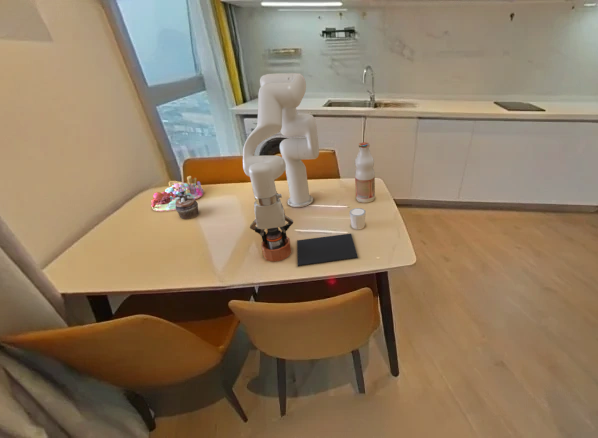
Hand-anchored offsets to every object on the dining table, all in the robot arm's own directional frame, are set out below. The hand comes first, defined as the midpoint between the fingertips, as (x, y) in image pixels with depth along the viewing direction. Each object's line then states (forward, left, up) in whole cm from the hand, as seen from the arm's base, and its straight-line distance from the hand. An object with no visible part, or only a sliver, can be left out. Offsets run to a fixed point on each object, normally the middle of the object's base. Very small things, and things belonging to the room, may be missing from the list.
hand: (275, 240), depth 118 cm
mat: (+2, +19, -6) cm, 19 cm away
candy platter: (-59, -52, -6) cm, 79 cm away
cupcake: (-40, -42, -6) cm, 59 cm away
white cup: (-12, +34, -6) cm, 36 cm away
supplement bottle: (0, 0, -6) cm, 6 cm away
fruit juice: (-36, +42, -6) cm, 55 cm away
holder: (0, 0, -6) cm, 6 cm away
